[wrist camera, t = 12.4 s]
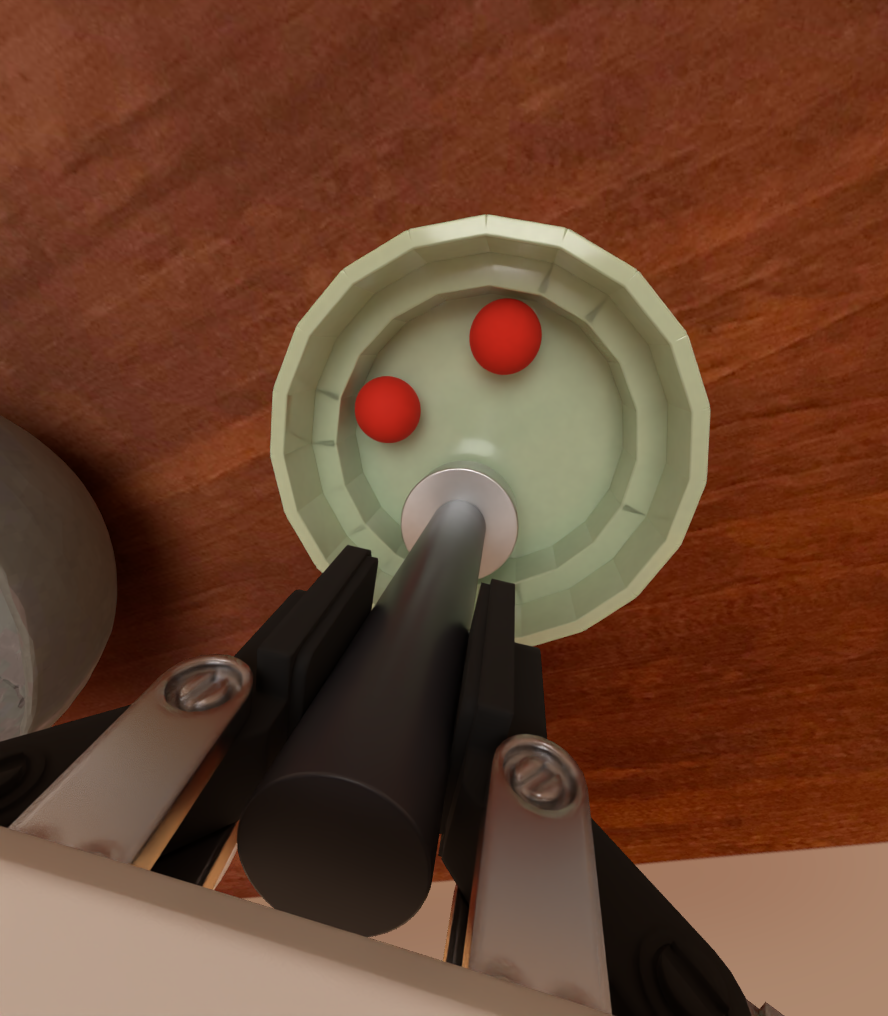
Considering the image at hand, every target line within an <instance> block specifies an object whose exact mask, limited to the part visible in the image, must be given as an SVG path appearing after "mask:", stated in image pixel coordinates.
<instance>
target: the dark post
mask: <svg viewBox="0 0 888 1016" xmlns="http://www.w3.org/2000/svg"><path fill="white" fill-rule="evenodd" d="M518 528H519V525H518V514H517V505H516V501H515V497H514V495H513V492H512V490H511V488H510V486H509V485H508V483H507V482H506V481H505V480H504V478H503V477H502V476H501V475H500V474H498V473H497V472H496V471H495V470H493V469H491V468H490V467H488V466H486V465H483V464H481V463H477V462H473V461H453V462H449V463H446V464H443V465H441V466H439V467H437V468H435V469H434V470H432V471H431V472H430V473H429V474H427V475H426V476H425V477H424V478H423V479H422V480H421V481H420V482H419V483H418V484H417V485H416V486H415V487H414V488H413V489H412V490H411V492H410V493H409V495H408V497H407V498H406V501H405V503H404V506H403V509H402V514H401V533H402V537H403V541H404V543H405V546H406V548H407V550H408V552H409V553H408V555H407V557H406V558H405V560H404V561H403V563H402V564H401V566H400V567H399V569H398V570H397V572H396V573H395V575H394V577H393V578H392V580H391V581H390V583H389V584H388V586H387V587H386V589H385V590H384V592H383V594H382V595H381V597H380V598H379V600H378V601H377V603H376V604H375V606H374V607H373V609H372V611H371V612H370V614H369V615H368V617H367V618H366V620H365V621H364V623H363V624H362V626H361V627H360V629H359V631H358V632H357V634H356V635H355V637H354V638H353V640H352V641H351V643H350V644H349V646H348V648H347V649H346V651H345V652H344V654H343V655H342V657H341V658H340V660H339V661H338V663H337V664H336V666H335V668H334V669H333V671H332V672H331V674H330V675H329V677H328V678H327V680H326V681H325V683H324V685H323V686H322V688H321V689H320V691H319V692H318V694H317V695H316V697H315V698H314V700H313V702H312V703H311V705H310V706H309V708H308V709H307V711H306V712H305V714H304V715H303V717H302V718H301V720H300V722H299V723H298V725H297V726H296V728H295V729H294V731H293V732H292V734H291V735H290V737H289V739H288V740H287V742H286V743H285V745H284V746H283V748H282V749H281V751H280V752H279V754H278V755H277V757H276V759H275V760H274V762H273V763H272V765H271V766H270V768H269V769H268V771H267V772H266V774H265V776H264V777H263V779H262V780H261V782H260V783H259V785H258V786H257V788H256V789H255V791H254V793H253V794H252V796H251V797H250V799H249V800H248V802H247V803H246V805H245V807H244V809H243V811H242V814H241V816H240V820H239V824H238V829H237V847H238V853H239V857H240V861H241V864H242V866H243V869H244V871H245V873H246V875H247V877H248V879H249V881H250V882H251V884H252V885H253V886H254V888H255V889H256V891H257V892H258V893H259V894H260V895H261V896H262V897H263V899H265V901H266V902H268V903H269V904H270V905H271V906H272V907H273V908H274V909H277V910H280V911H283V912H286V913H290V914H293V915H296V916H299V917H303V918H306V919H309V920H312V921H316V922H319V923H322V924H325V925H329V926H332V927H335V928H338V929H342V930H345V931H348V932H351V933H355V934H358V935H361V936H364V937H372V936H377V935H381V934H385V933H388V932H390V931H392V930H394V929H397V928H398V927H400V926H401V925H403V924H405V923H406V922H407V921H408V920H410V919H411V918H412V917H413V916H414V915H415V914H416V913H417V912H418V910H419V909H420V908H421V906H422V905H423V903H424V901H425V900H426V898H427V896H428V893H429V890H430V888H431V883H432V877H433V871H434V864H435V858H436V851H437V845H438V838H439V832H440V825H441V819H442V812H443V806H444V799H445V793H446V786H447V780H448V773H449V767H450V751H451V745H452V738H453V732H454V726H455V719H456V713H457V707H458V701H459V694H460V688H461V682H462V675H463V669H464V663H465V656H466V650H467V644H468V637H469V632H470V628H471V623H472V617H473V610H474V604H475V597H476V591H477V584H478V579H481V578H484V577H486V576H488V575H490V574H492V573H493V572H495V571H496V570H497V569H499V568H500V567H501V566H502V565H503V564H504V563H505V562H506V561H507V559H508V558H509V556H510V555H511V553H512V551H513V549H514V547H515V544H516V541H517V537H518Z"/></svg>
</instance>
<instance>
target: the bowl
mask: <svg viewBox="0 0 888 1016" xmlns="http://www.w3.org/2000/svg"><path fill="white" fill-rule="evenodd" d="M116 603H117V573H116V563H115V557H114V551H113V547H112V543H111V540H110V536H109V533H108V530H107V528H106V525H105V523H104V520H103V517H102V515H101V513H100V511H99V509H98V507H97V505H96V503H95V502H94V500H93V498H92V497H91V495H90V494H89V492H88V491H87V489H86V488H85V486H84V484H83V483H82V482H81V481H80V479H79V478H78V477H77V475H76V474H75V473H74V472H73V471H72V470H71V469H70V468H69V467H68V466H67V464H66V463H65V462H64V461H63V460H62V459H60V458H59V457H58V456H57V455H56V454H55V453H54V452H53V451H52V450H51V449H49V448H48V447H47V446H46V445H44V444H43V443H42V442H41V441H39V440H38V439H37V438H36V437H34V436H33V435H31V434H30V433H29V432H27V431H25V430H24V429H22V428H21V427H19V426H18V425H16V424H14V423H13V422H11V421H10V420H8V419H6V418H4V417H2V416H1V415H0V741H4V740H7V739H11V738H15V737H18V736H22V735H25V734H29V733H32V732H36V731H39V730H43V729H47V728H50V727H51V726H52V725H53V724H54V723H55V722H56V721H57V720H58V719H59V718H60V717H61V715H62V714H63V713H64V712H65V711H66V710H67V709H68V708H69V706H70V705H71V704H72V702H73V701H74V700H75V698H76V697H77V696H78V694H79V693H80V692H81V690H82V689H83V688H84V687H85V685H86V683H87V682H88V680H89V678H90V676H91V674H92V672H93V670H94V668H95V666H96V665H97V663H98V661H99V659H100V657H101V655H102V653H103V650H104V648H105V646H106V643H107V641H108V639H109V636H110V634H111V632H112V628H113V623H114V618H115V612H116Z"/></svg>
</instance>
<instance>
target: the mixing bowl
mask: <svg viewBox="0 0 888 1016" xmlns="http://www.w3.org/2000/svg"><path fill="white" fill-rule="evenodd" d="M503 298H511V299H516V300H519V301H522V302H524V303H525V304H527V305H528V306H529V307H530V308H531V309H532V310H533V311H534V312H535V314H536V315H537V317H538V319H539V322H540V325H541V330H542V340H541V345H540V348H539V351H538V353H537V355H536V357H535V358H534V360H533V361H532V362H531V363H530V364H529V365H528V366H527V367H526V368H524V369H523V370H521V371H519V372H517V373H514V374H509V375H499V374H494V373H491V372H489V371H487V370H486V369H484V368H483V367H482V366H481V365H480V364H479V363H478V362H477V361H476V359H475V358H474V356H473V354H472V351H471V348H470V342H469V335H470V329H471V325H472V323H473V320H474V318H475V317H476V315H477V314H478V312H479V311H480V310H481V309H482V308H483V307H484V306H486V305H487V304H489V303H490V302H492V301H495V300H498V299H503ZM381 376H392V377H396V378H399V379H402V380H403V381H405V382H406V383H408V384H409V385H410V386H411V387H412V388H413V389H414V391H415V392H416V394H417V396H418V398H419V401H420V407H421V414H420V419H419V423H418V425H417V427H416V429H415V430H414V431H413V432H412V434H411V435H409V436H408V437H407V438H405V439H403V440H401V441H399V442H395V443H382V442H378V441H376V440H373V439H372V438H370V437H369V436H367V435H366V434H365V433H364V432H363V431H362V429H361V428H360V426H359V425H358V423H357V420H356V417H355V401H356V397H357V395H358V393H359V391H360V390H361V388H362V387H363V386H364V385H365V384H366V383H368V382H369V381H371V380H372V379H375V378H377V377H381ZM273 389H274V390H273V398H272V420H271V442H270V454H271V455H270V458H271V461H272V465H273V469H274V473H275V477H276V481H277V485H278V489H279V493H280V497H281V501H282V504H283V508H284V512H285V514H286V517H287V518H288V520H289V522H290V523H291V525H292V527H293V529H294V530H295V532H296V534H297V535H298V537H299V539H300V540H301V542H302V544H303V546H304V547H305V549H306V551H307V552H308V554H309V556H310V557H311V559H312V561H313V563H314V564H315V565H316V567H317V568H318V569H319V570H320V571H321V572H322V573H323V572H324V571H325V570H326V569H327V567H328V566H329V565H330V564H331V563H332V562H333V561H334V559H335V558H336V557H337V556H338V555H339V554H340V552H341V551H342V550H343V549H344V548H345V547H346V546H347V545H351V546H355V547H360V548H364V549H368V550H371V553H372V557H376V558H378V568H377V575H376V582H375V589H374V596H373V603H372V609H373V607H374V606H375V604H376V603H377V601H378V600H379V598H380V597H381V595H382V594H383V592H384V590H385V589H386V587H387V586H388V584H389V583H390V581H391V580H392V578H393V577H394V575H395V573H396V572H397V570H398V569H399V567H400V566H401V564H402V563H403V561H404V560H405V558H406V557H407V555H408V553H409V552H408V550H407V548H406V546H405V543H404V541H403V537H402V533H401V514H402V509H403V506H404V503H405V501H406V498H407V497H408V495H409V493H410V492H411V490H412V489H413V488H414V487H415V486H416V485H417V484H418V483H419V482H420V481H421V480H422V479H423V478H424V477H425V476H426V475H427V474H429V473H430V472H431V471H432V470H434V469H435V468H437V467H439V466H441V465H443V464H446V463H449V462H453V461H473V462H477V463H481V464H483V465H486V466H488V467H490V468H491V469H493V470H495V471H496V472H497V473H498V474H500V475H501V476H502V477H503V478H504V480H505V481H506V482H507V483H508V485H509V486H510V488H511V490H512V492H513V495H514V497H515V501H516V505H517V514H518V525H519V528H518V537H517V541H516V544H515V547H514V549H513V551H512V553H511V555H510V556H509V558H508V559H507V561H506V562H505V563H504V564H503V565H502V566H501V567H500V568H499V569H497V570H496V571H495V572H493V573H492V574H490V575H488V576H486V577H484V578H481V579H478V584H477V591H476V597H475V604H474V610H473V615H474V611H475V607H476V602H477V598H478V594H479V590H480V586H481V582H482V583H486V584H490V582H491V579H496V580H501V581H505V582H509V583H514V584H515V642H516V643H520V644H524V645H528V646H536V645H539V644H543V643H546V642H549V641H553V640H556V639H559V638H563V637H566V636H570V635H573V634H576V633H580V632H583V630H584V631H585V630H586V629H588V628H590V627H591V626H593V625H594V624H596V623H597V622H599V621H600V620H602V619H604V618H605V617H607V616H608V615H610V614H611V613H613V612H615V611H616V610H618V609H619V608H621V607H622V606H624V605H626V604H627V603H629V602H630V601H632V600H633V599H635V598H636V596H638V595H639V594H640V593H641V592H642V591H643V589H644V588H645V587H646V586H647V585H648V584H649V582H650V581H651V580H652V579H653V578H654V576H655V575H656V574H657V573H658V572H659V571H660V569H661V568H662V567H663V566H664V565H665V564H666V562H667V561H668V560H669V559H670V558H671V556H672V555H673V554H674V553H675V552H676V551H677V549H678V548H679V546H681V544H682V541H683V539H684V536H685V534H686V532H687V529H688V527H689V524H690V522H691V519H692V517H693V514H694V512H695V510H696V507H697V505H698V502H699V500H700V497H701V495H702V492H703V490H704V488H705V485H706V480H707V467H708V447H709V428H710V408H709V407H710V404H709V401H708V397H707V394H706V391H705V388H704V384H703V381H702V378H701V375H700V372H699V368H698V365H697V362H696V359H695V355H694V352H693V349H692V346H691V342H690V339H689V336H688V335H687V332H686V331H685V329H684V328H683V327H682V325H681V324H680V323H679V322H678V320H677V319H676V318H675V316H674V315H673V314H672V313H671V311H670V310H669V309H668V308H667V306H666V305H665V304H664V302H663V301H662V300H661V299H660V297H659V296H658V295H657V293H656V292H655V291H654V290H653V288H652V287H651V286H650V285H649V283H648V282H647V281H646V279H645V278H644V277H643V276H642V274H641V273H640V272H639V271H637V269H636V268H634V267H632V266H631V265H629V264H627V263H626V262H624V261H622V260H621V259H619V258H617V257H616V256H614V255H612V254H611V253H609V252H607V251H606V250H604V249H602V248H600V247H599V246H597V245H595V244H594V243H592V242H590V241H589V240H587V239H585V238H584V237H582V236H580V235H579V234H577V233H575V232H574V231H572V230H570V229H567V228H565V227H560V226H554V225H548V224H543V223H537V222H531V221H525V220H519V219H513V218H508V217H502V216H496V215H490V214H488V215H487V216H486V215H485V214H484V215H478V216H473V217H468V218H463V219H458V220H453V221H448V222H443V223H437V224H432V225H427V226H422V227H417V228H412V229H409V231H408V230H406V231H404V232H403V233H401V234H399V235H398V236H396V237H394V238H393V239H391V240H390V241H388V242H386V243H385V244H383V245H381V246H380V247H378V248H376V249H375V250H373V251H371V252H370V253H368V254H367V255H365V256H363V257H362V258H360V259H358V260H357V261H355V262H353V263H352V264H350V265H348V266H347V267H345V268H344V269H343V270H341V271H340V273H339V274H338V275H337V276H336V278H335V279H334V280H333V281H332V283H331V284H330V285H329V286H328V287H327V289H326V290H325V291H324V292H323V294H322V295H321V296H320V297H319V299H318V300H317V301H316V302H315V303H314V305H313V306H312V307H311V308H310V310H309V311H308V312H307V313H306V314H305V316H304V317H303V318H302V319H301V321H300V322H299V323H298V325H297V327H296V329H295V331H294V334H293V337H292V339H291V342H290V345H289V347H288V350H287V353H286V355H285V358H284V361H283V364H282V366H281V369H280V372H279V374H278V377H277V380H276V382H275V385H274V388H273ZM371 611H372V610H371ZM472 619H473V617H472Z"/></svg>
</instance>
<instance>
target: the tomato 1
mask: <svg viewBox="0 0 888 1016" xmlns="http://www.w3.org/2000/svg"><path fill="white" fill-rule="evenodd" d="M420 414H421V407H420V401H419V398H418V396H417V394H416V392H415V391H414V389H413V388H412V387H411V386H410V385H409V384H408V383H406V382H405V381H403V380H402V379H399V378H396V377H392V376H381V377H377V378H375V379H372V380H371V381H369V382H368V383H366V384H365V385H364V386H363V387H362V388H361V390H360V391H359V393H358V395H357V397H356V401H355V417H356V420H357V423H358V425H359V426H360V428H361V429H362V431H363V432H364V433H365V434H366V435H367V436H369V437H370V438H372V439H373V440H376V441H378V442H382V443H395V442H399V441H401V440H403V439H405V438H407V437H408V436H409V435H411V434H412V432H413V431H414V430H415V429H416V427H417V425H418V423H419V419H420Z"/></svg>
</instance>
